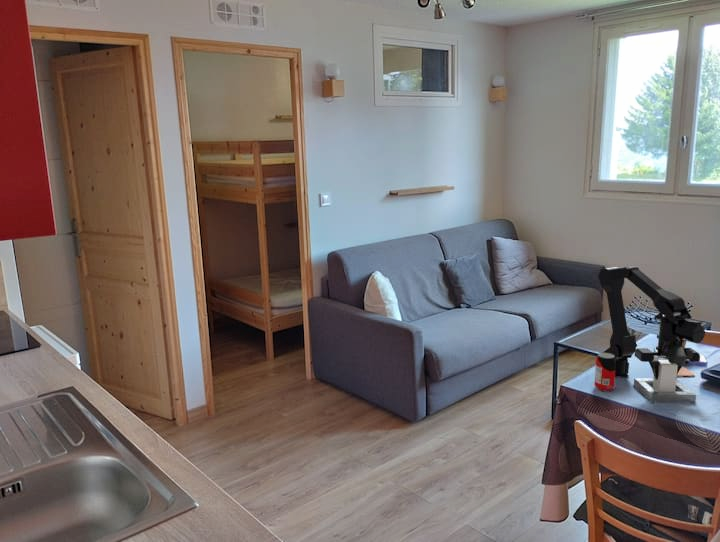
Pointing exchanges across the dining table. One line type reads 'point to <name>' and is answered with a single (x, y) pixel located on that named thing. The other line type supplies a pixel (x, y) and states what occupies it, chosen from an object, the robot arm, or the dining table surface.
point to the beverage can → (605, 371)
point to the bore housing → (678, 396)
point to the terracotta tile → (684, 372)
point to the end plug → (666, 377)
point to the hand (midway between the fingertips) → (664, 379)
